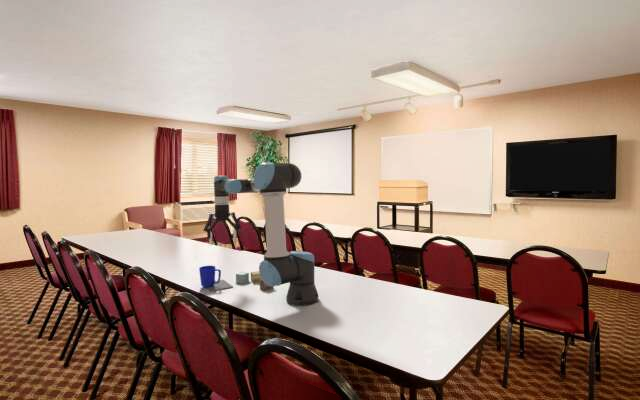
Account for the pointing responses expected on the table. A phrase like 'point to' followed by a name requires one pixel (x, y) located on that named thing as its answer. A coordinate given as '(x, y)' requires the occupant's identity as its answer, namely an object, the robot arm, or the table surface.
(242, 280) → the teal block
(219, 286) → the trivet
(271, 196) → the robot arm
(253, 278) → the oak block
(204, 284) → the mug
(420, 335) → the table surface
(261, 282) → the walnut block
